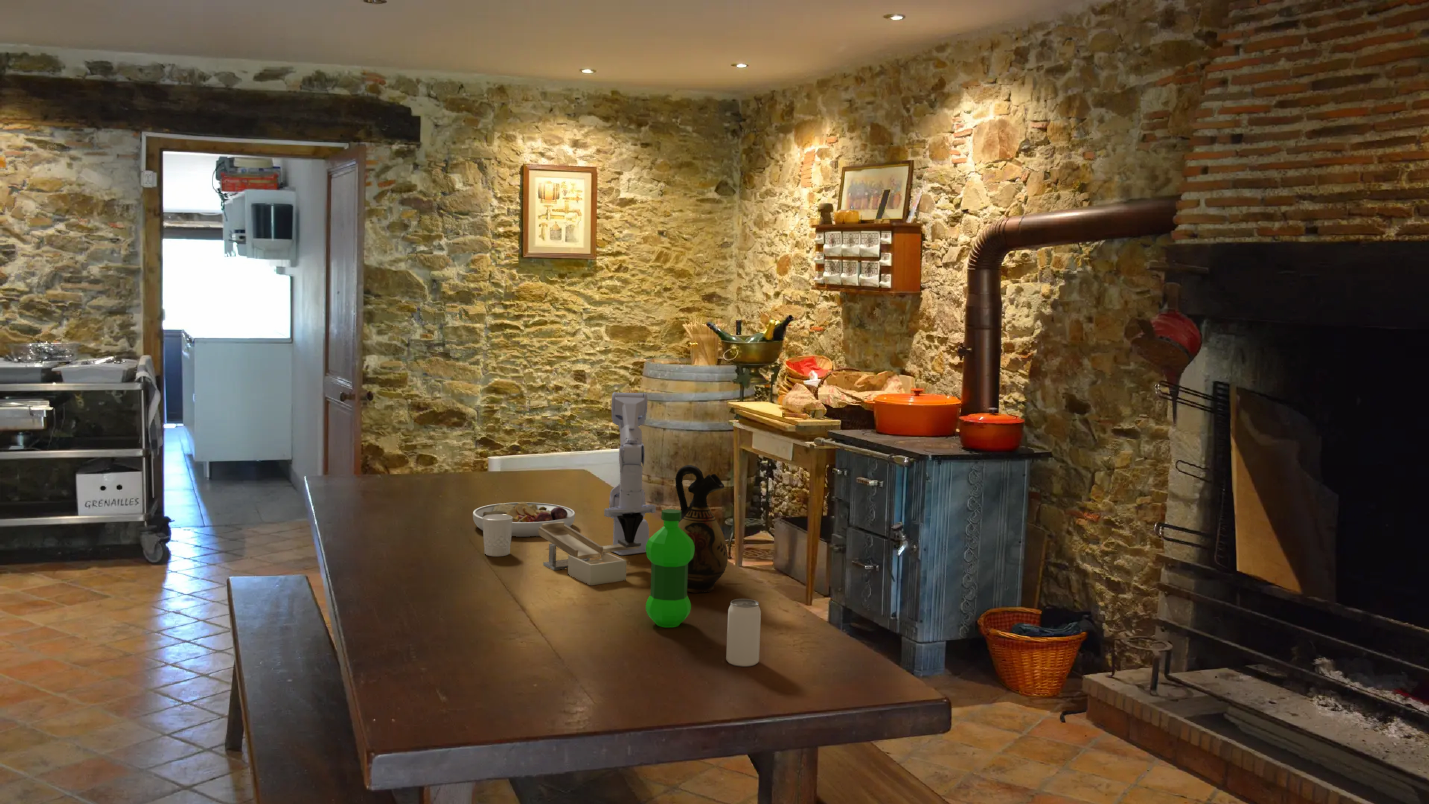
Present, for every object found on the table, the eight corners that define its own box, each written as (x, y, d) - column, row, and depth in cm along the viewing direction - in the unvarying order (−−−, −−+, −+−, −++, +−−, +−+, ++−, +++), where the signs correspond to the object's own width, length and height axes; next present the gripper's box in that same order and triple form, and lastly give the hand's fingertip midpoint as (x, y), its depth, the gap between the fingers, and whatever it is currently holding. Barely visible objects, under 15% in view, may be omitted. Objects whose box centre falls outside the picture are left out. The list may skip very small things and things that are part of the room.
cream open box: (602, 570, 288) (603, 551, 287) (625, 580, 279) (626, 560, 278) (567, 574, 282) (568, 555, 281) (590, 585, 273) (590, 565, 272)
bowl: (452, 532, 326) (452, 505, 325) (508, 514, 354) (508, 489, 353) (541, 544, 315) (542, 516, 314) (592, 525, 343) (593, 499, 342)
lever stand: (583, 560, 298) (584, 537, 297) (595, 565, 293) (595, 542, 292) (543, 565, 290) (543, 542, 290) (554, 570, 286) (554, 547, 285)
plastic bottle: (674, 634, 237) (678, 518, 235) (634, 624, 243) (638, 511, 240) (700, 623, 246) (704, 511, 243) (660, 614, 251) (664, 504, 248)
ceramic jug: (734, 584, 279) (739, 465, 276) (714, 599, 265) (719, 474, 262) (671, 576, 285) (675, 459, 282) (648, 590, 270) (652, 468, 267)
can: (724, 656, 224) (726, 597, 223) (756, 656, 225) (759, 598, 223) (727, 667, 218) (730, 607, 216) (760, 667, 218) (763, 607, 217)
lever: (600, 529, 308) (601, 517, 307) (641, 553, 291) (642, 540, 291) (538, 536, 297) (538, 524, 296) (577, 561, 280) (578, 548, 279)
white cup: (505, 558, 296) (505, 521, 295) (477, 555, 298) (477, 518, 297) (516, 551, 304) (517, 515, 303) (489, 549, 306) (489, 513, 305)
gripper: (614, 494, 282) (613, 547, 283) (662, 490, 291) (661, 542, 292) (600, 490, 288) (599, 542, 289) (647, 486, 296) (646, 537, 298)
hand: (629, 542), depth 291 cm, fingers closed, pressing on lever
